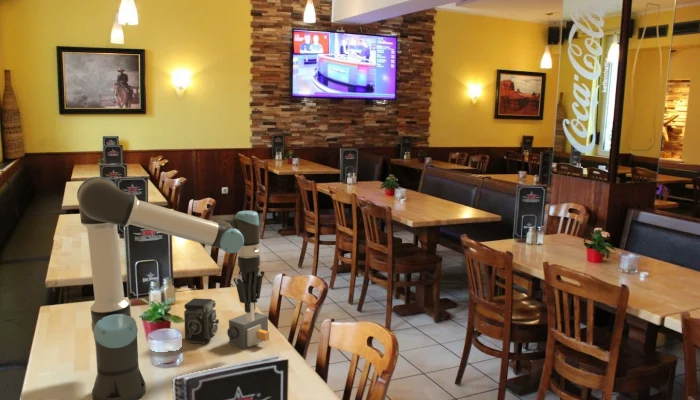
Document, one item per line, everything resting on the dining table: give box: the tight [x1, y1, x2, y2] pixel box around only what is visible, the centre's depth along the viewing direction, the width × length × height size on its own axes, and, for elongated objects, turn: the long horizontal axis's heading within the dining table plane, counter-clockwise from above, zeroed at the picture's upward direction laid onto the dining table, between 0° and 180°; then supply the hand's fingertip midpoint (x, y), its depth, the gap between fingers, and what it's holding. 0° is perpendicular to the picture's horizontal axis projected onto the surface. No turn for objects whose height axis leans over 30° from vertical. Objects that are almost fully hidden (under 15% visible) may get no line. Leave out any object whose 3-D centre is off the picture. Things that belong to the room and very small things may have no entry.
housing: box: [226, 310, 269, 350], centre depth 220 cm, size 14×8×10 cm, turn 144°
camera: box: [183, 297, 220, 345], centre depth 221 cm, size 10×10×15 cm
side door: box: [247, 324, 270, 348], centre depth 215 cm, size 6×5×6 cm
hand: (250, 320), depth 210 cm, fingers closed
